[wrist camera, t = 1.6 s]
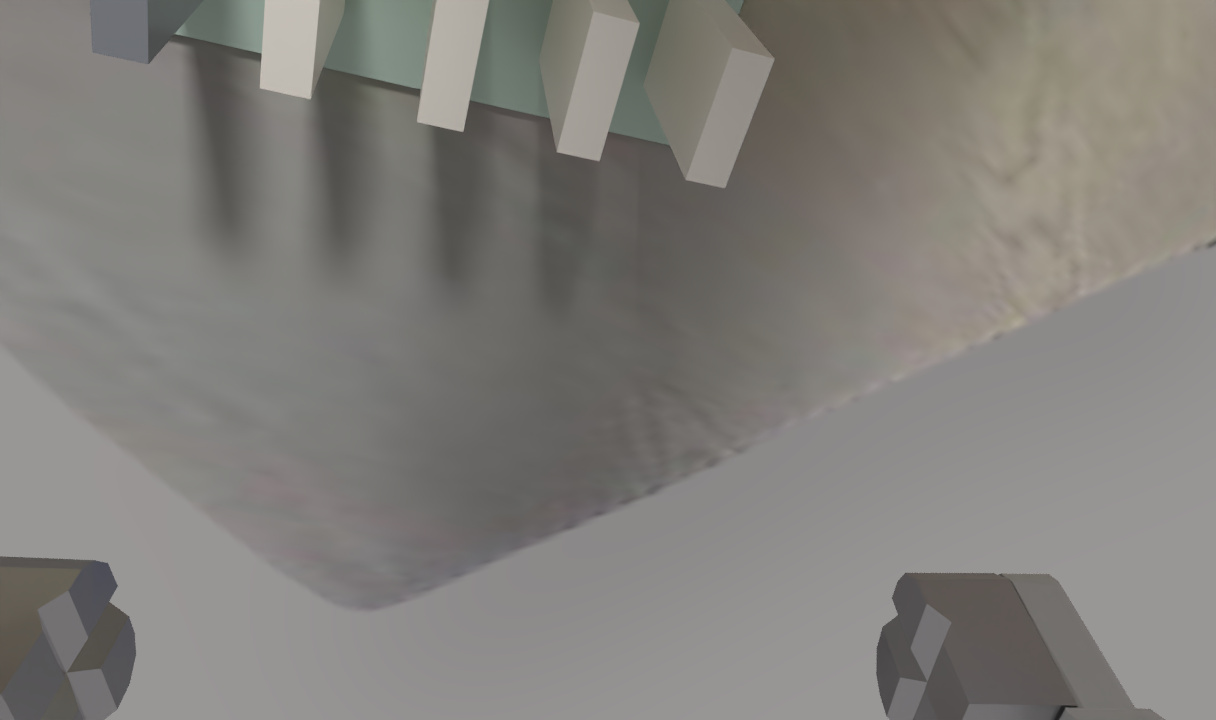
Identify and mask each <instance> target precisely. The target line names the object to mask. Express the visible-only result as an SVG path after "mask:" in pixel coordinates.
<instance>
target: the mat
mask: <svg viewBox="0 0 1216 720" xmlns="http://www.w3.org/2000/svg"><path fill="white" fill-rule="evenodd" d="M432 1H433V0H345V7H344V14H343V17H342V19H341V22H340V25H339V27H338V30H337V32H336V35H335V38H334V40H333V43H332V45H331V48H330V50H329V53H328V56H327V58H326V61H325V63H324V66H323V68H328V69H332V70H337V71H341V72H346V73H350V74H355V75H359V76H363V77H368V78H372V79H377V80H381V81H386V82H390V83H395V84H399V85H403V86H408V87H412V88H417V89H421V82H422V73H423V65H424V56H425V48H426V39H427V31H428V25H429V19H430V13H431V7H432ZM552 2H553V0H489V4H488V9H487V14H486V19H485V24H484V29H483V34H482V39H481V44H480V50H479V55H478V60H477V65H476V70H475V75H474V80H473V85H472V90H471V95H470V101H474V102H479V103H483V104H488V105H492V106H497V107H501V108H506V109H510V110H514V111H519V112H523V113H528V114H532V115H537V116H541V117H546V118H550V116H549V111H548V106H547V100H546V95H545V90H544V85H543V80H542V75H541V70H540V65H539V57H540V53H541V48H542V44H543V40H544V36H545V31H546V27H547V23H548V19H549V15H550V10H551V6H552ZM628 2H629V4H630V6H631V8H632V10H633V12H634V13H635V15H636V17H637V19H638V21H639V23H640V25H639V28H638V32H637V35H636V38H635V42H634V45H633V49H632V52H631V55H630V59H629V62H628V66H627V69H626V73H625V76H624V79H623V83H622V86H621V90H620V93H619V96H618V100H617V103H616V107H615V110H614V113H613V117H612V120H611V124H610V127H609V130H608V132H612V133H617V134H621V135H625V136H630V137H634V138H639V139H643V140H648V141H652V142H657V143H661V144H665V145H670V144H669V142H668V140H667V138H666V136H665V133H664V131H663V129H662V127H661V124H660V122H659V120H658V118H657V116H656V113H655V111H654V109H653V107H652V105H651V102H650V100H649V98H648V96H647V93H646V91H645V89H644V87H643V84H644V81H645V78H646V75H647V71H648V68H649V65H650V62H651V58H652V55H653V52H654V48H655V45H656V42H657V39H658V35H659V32H660V29H661V26H662V22H663V19H664V16H665V13H666V9H667V6H668V3H669V0H628ZM726 2H727V3H728V4H729V5H730V6H731V8H732V9H733V10H734V11H735V12H736V13H737V15H738V16H739V13H740V10H741V7H742V4H743V2H744V0H726ZM264 8H265V0H203V1H202V3H201V4H200V5H199V6H198V7H197V8H196V10H195V11H194V12H193V13H192V14H191V15H190V17H189V18H188V19H187V20H186V21H185V22H184V24H183V25H182V26H181V27H180V28H179V29H178V30H177V32H176V33H175V34H177V35H181V36H186V37H190V38H195V39H199V40H204V41H208V42H212V43H217V44H221V45H226V46H230V47H235V48H239V49H244V50H248V51H252V52H257V53H261V54H262V42H263V25H264Z"/></svg>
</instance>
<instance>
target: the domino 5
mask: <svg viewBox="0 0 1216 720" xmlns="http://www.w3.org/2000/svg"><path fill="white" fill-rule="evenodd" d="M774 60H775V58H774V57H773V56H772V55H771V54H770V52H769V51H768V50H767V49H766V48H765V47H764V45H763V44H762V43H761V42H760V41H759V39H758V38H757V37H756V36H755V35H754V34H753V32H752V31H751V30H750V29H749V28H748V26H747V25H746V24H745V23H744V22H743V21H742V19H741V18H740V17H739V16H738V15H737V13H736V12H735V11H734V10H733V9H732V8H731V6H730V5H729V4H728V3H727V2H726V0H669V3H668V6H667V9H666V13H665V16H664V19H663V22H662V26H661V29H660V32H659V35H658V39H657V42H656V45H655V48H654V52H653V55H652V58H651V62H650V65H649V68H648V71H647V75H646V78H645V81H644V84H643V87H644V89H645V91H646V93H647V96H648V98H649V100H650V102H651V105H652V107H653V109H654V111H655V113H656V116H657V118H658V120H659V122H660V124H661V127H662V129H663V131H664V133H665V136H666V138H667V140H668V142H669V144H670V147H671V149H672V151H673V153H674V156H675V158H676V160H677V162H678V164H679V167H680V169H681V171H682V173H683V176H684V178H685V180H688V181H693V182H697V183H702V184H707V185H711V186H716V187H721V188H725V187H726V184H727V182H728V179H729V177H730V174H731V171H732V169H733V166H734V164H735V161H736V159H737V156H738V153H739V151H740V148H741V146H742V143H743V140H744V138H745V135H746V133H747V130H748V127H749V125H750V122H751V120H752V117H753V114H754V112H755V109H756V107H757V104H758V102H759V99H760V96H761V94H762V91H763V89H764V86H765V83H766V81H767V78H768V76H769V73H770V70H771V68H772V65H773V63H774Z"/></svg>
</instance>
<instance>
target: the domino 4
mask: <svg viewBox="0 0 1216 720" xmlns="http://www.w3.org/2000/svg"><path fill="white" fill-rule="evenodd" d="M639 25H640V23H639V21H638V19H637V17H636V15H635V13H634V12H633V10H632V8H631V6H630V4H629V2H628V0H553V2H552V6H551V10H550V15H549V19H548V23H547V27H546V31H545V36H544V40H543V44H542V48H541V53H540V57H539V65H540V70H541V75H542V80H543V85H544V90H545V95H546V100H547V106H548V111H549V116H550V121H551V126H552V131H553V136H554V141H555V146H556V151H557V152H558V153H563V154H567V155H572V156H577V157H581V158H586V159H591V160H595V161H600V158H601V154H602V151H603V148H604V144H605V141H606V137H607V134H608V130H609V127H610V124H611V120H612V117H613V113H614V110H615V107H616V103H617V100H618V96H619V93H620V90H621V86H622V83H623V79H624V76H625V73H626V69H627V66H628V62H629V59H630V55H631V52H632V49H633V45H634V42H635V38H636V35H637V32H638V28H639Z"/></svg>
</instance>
